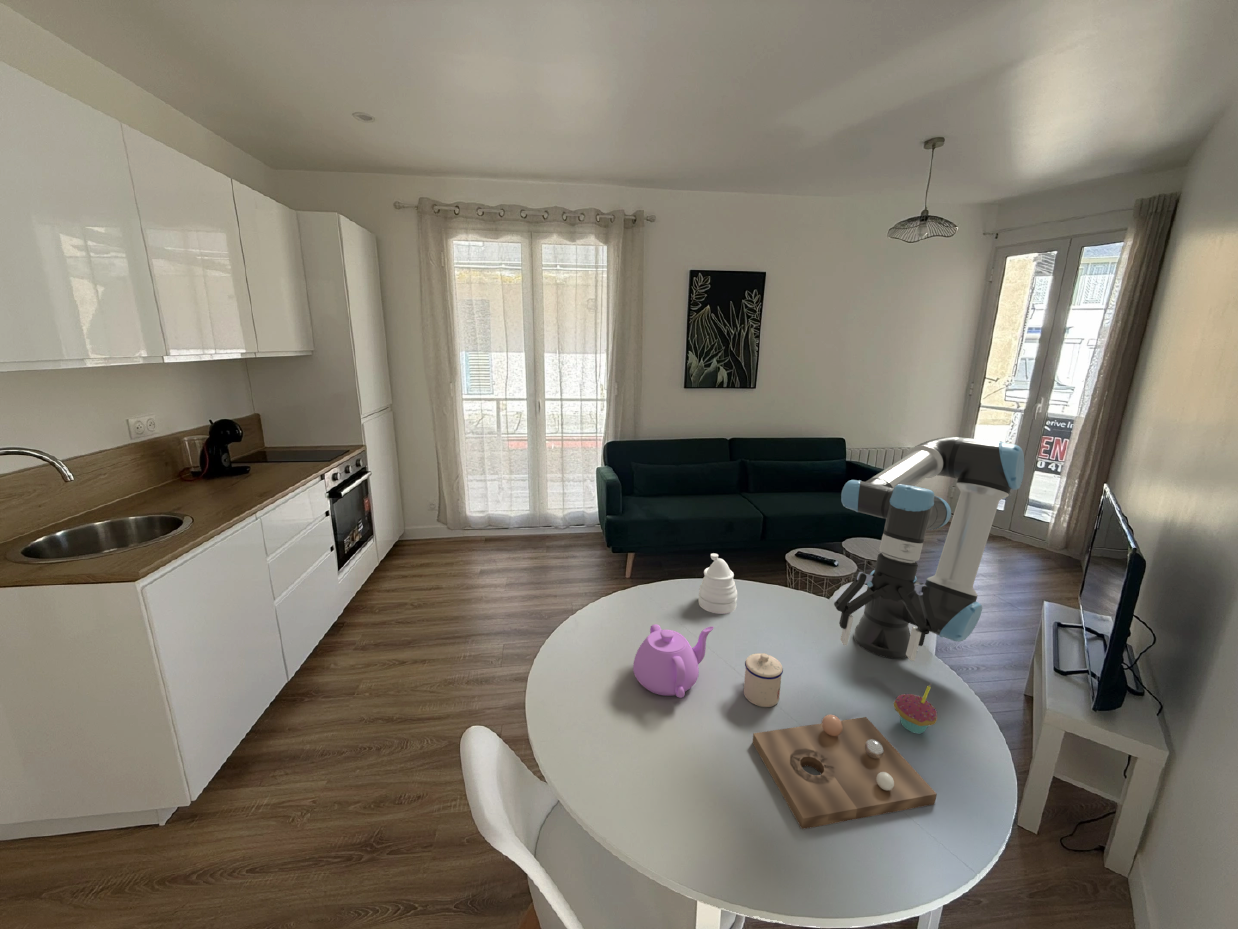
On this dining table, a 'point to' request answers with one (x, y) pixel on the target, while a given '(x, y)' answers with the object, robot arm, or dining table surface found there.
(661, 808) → the dining table surface
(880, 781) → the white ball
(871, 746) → the steel ball
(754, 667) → the teacup with lid
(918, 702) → the cupcake
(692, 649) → the teapot
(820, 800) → the wooden board
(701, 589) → the honey pot
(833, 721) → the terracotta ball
